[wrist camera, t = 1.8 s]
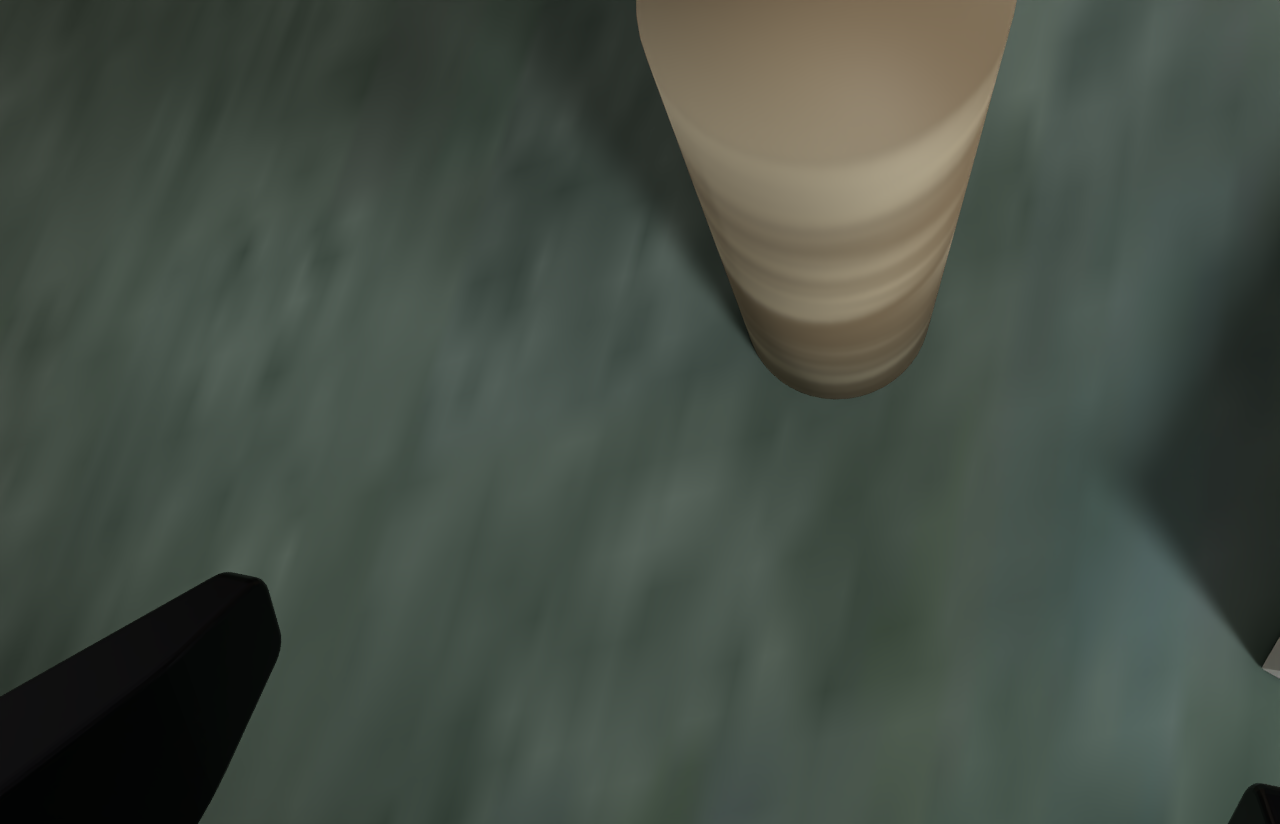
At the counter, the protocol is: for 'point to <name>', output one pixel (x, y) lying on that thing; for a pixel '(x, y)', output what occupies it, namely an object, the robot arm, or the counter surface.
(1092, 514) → the counter surface
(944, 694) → the counter surface
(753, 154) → the peg
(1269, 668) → the socket
